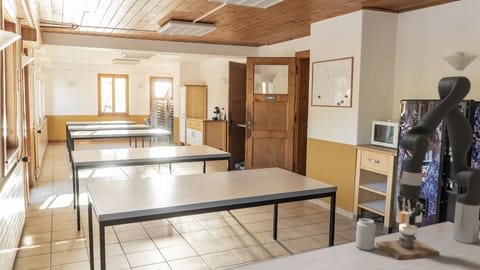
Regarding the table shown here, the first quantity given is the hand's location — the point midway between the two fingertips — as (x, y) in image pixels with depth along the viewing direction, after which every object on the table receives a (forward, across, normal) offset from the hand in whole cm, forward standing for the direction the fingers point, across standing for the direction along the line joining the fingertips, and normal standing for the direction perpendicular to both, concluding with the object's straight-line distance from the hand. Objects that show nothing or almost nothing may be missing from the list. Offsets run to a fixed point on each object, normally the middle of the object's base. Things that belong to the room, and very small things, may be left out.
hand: (408, 223), depth 157 cm
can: (+12, +6, +16) cm, 21 cm away
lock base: (+12, 0, 0) cm, 12 cm away
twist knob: (+4, 0, 0) cm, 4 cm away
